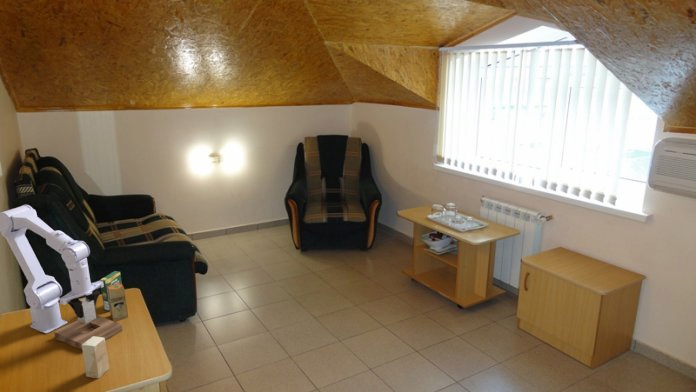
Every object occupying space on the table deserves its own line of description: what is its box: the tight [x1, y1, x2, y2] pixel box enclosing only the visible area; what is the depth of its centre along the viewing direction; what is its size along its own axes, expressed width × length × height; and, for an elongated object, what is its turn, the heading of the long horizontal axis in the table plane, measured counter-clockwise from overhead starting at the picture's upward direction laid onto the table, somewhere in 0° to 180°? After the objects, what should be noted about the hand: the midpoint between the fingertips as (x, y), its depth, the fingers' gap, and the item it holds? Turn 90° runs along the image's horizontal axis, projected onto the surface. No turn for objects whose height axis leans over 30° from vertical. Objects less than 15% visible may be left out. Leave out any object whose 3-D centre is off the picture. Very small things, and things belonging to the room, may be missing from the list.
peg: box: [76, 297, 97, 324], centre depth 163 cm, size 4×4×7 cm
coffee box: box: [99, 270, 123, 312], centre depth 183 cm, size 8×3×13 cm, turn 163°
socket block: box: [53, 314, 123, 351], centre depth 166 cm, size 16×14×2 cm
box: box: [81, 336, 110, 379], centre depth 145 cm, size 5×4×11 cm
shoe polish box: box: [107, 283, 129, 322], centre depth 176 cm, size 5×5×12 cm
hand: (86, 314), depth 164 cm, fingers closed on peg, 4 cm apart
